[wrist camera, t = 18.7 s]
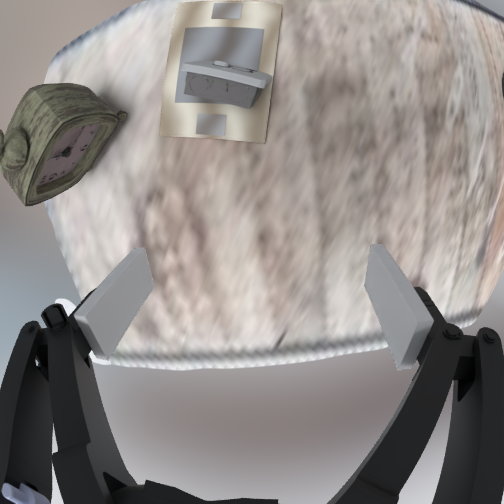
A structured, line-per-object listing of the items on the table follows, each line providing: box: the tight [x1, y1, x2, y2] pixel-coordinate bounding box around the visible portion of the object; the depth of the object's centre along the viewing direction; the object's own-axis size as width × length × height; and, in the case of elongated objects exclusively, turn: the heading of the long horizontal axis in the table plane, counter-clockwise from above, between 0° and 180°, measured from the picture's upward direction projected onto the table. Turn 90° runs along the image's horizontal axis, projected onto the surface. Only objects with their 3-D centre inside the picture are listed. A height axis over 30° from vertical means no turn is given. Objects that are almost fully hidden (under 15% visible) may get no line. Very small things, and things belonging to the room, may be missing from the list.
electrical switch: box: [181, 60, 272, 109], centre depth 27 cm, size 9×5×9 cm, turn 73°
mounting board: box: [159, 1, 283, 144], centre depth 30 cm, size 15×22×2 cm
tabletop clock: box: [0, 83, 127, 206], centre depth 24 cm, size 14×9×25 cm, turn 134°
